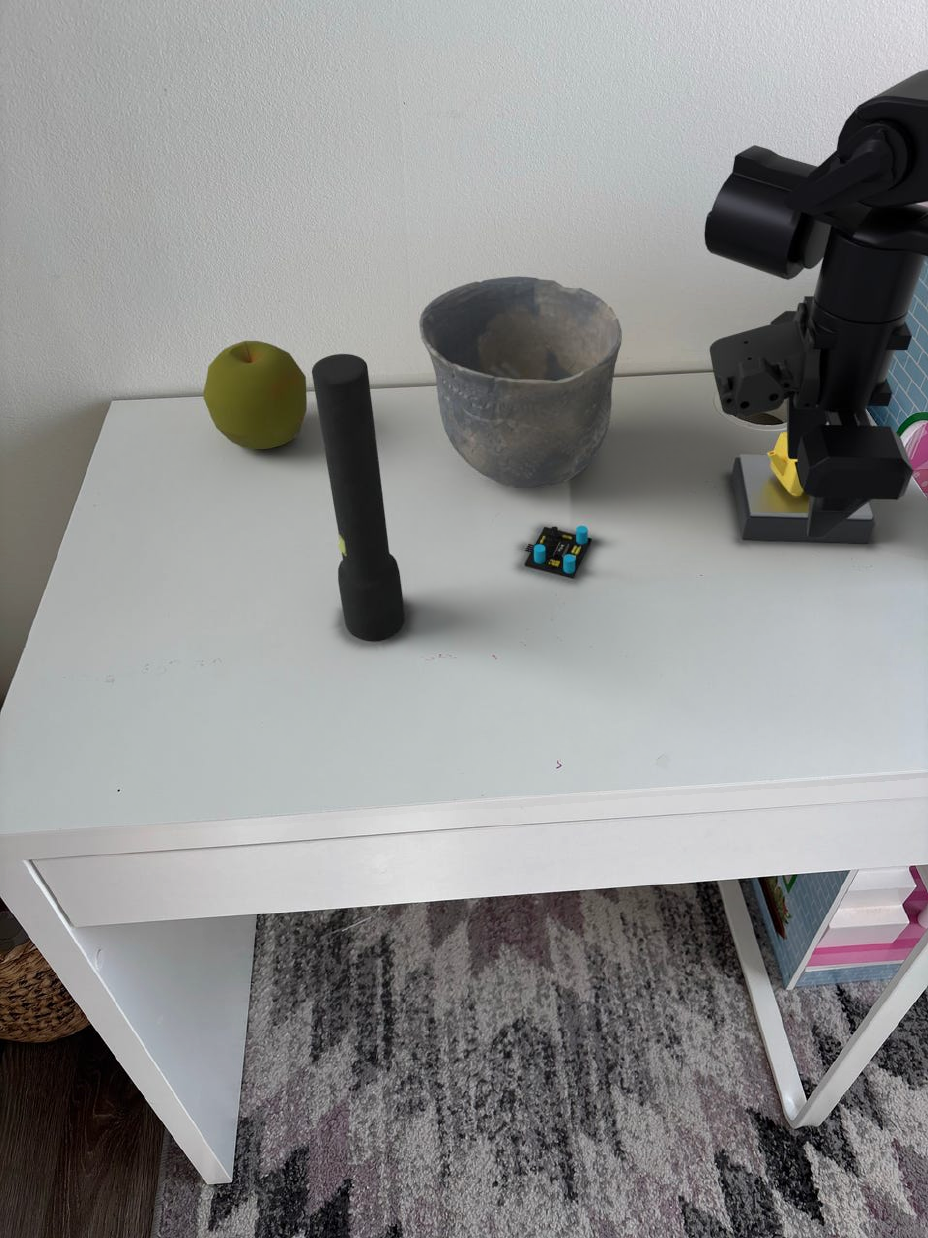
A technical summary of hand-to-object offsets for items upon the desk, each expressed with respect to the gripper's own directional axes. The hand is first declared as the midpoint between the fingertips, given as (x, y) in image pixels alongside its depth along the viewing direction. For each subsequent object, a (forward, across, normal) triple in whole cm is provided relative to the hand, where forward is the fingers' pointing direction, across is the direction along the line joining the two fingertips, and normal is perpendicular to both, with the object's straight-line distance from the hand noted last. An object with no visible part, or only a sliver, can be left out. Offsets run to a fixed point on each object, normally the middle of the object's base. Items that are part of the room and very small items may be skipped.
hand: (804, 495), depth 72 cm
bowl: (+12, -19, -22) cm, 32 cm away
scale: (+12, -13, +4) cm, 18 cm away
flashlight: (+12, +3, -33) cm, 35 cm away
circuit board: (+12, -6, -18) cm, 23 cm away
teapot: (+9, -13, +4) cm, 16 cm away
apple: (+12, -22, -48) cm, 54 cm away
